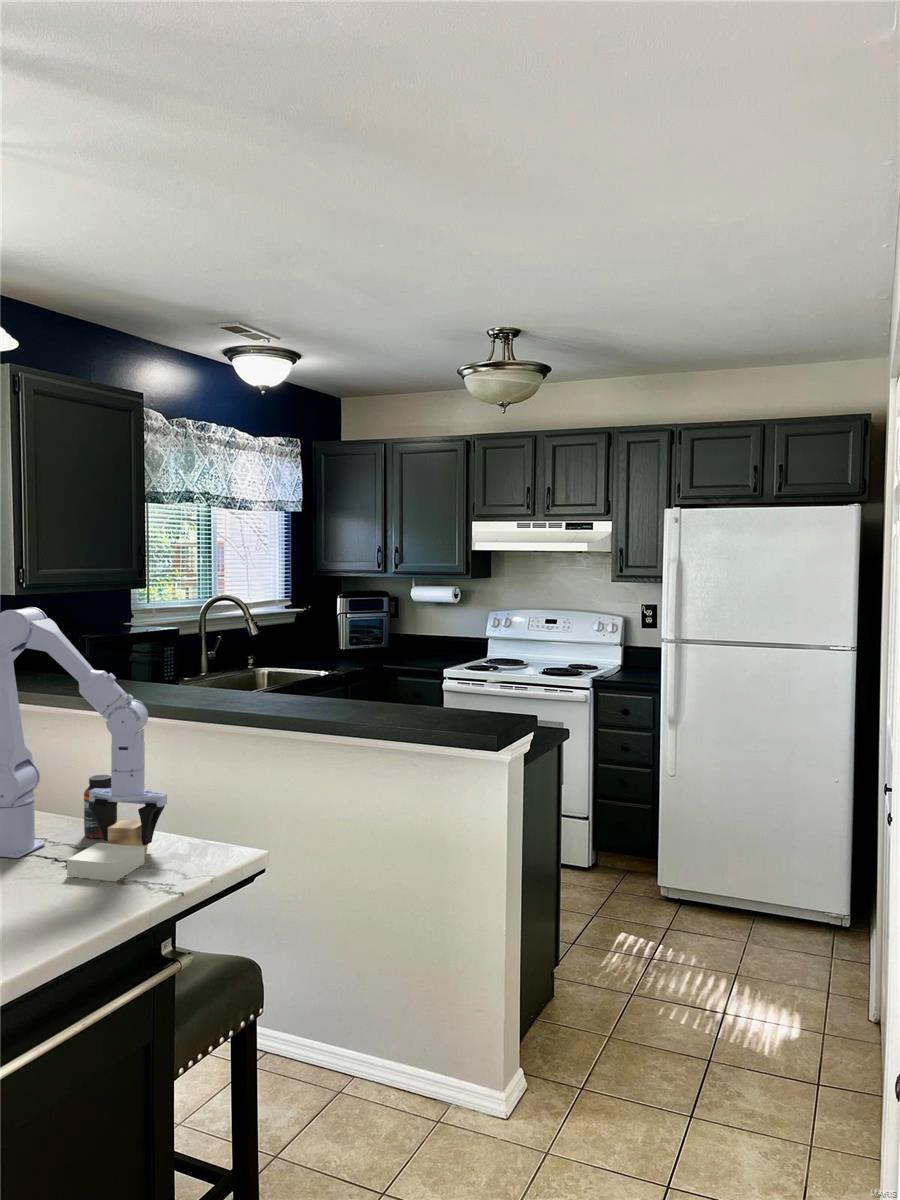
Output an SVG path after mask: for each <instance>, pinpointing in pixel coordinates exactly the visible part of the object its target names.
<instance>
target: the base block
mask: <svg viewBox="0 0 900 1200" xmlns="http://www.w3.org/2000/svg"><path fill="white" fill-rule="evenodd" d="M145 850H146V849H145V847H141V846H130V845H119V844H108V842H105V843H104V842H96V843H95V844H93V845H91V846H90V847H87V848H85V849H83V850H81V851H80V852H78V853H76V854H75V855H72V856H71V857H69V858H67V859H66V877H67V876H69V877H68V878H73V877H79V878H78V879H83V878H89V879H88V880H95V881H106V882H114V883H115V882H117V880H118V881H119V880H121V879H122V878H124V877H125V875H126V876H127V875H129V874H130V873H132V872H134V871H135V870H137V869H138V868H140V867H141V865H142V866H143V865H145V857H146V856H145ZM139 866H140V867H139ZM136 868H137V869H136ZM120 878H121V879H120Z"/></svg>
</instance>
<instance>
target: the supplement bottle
mask: <svg viewBox="0 0 900 1200" xmlns="http://www.w3.org/2000/svg"><path fill="white" fill-rule="evenodd" d="M88 781H89V782H88V785H89V786H88V787H87V788H86V789H85V790H84V792H83V819H84V820H83V824H84V827H83V829H84V836H85V837H87V838H88V837H89V839H93V838H98V839H104V838H103V834H102V830H101V827H100V825H99V822H98V820H97V818H96V816H95V815H94V813H93V812H92V810H91V805H94V803H95V801H89V791H90V790H93V789H95V788H99V789H109V788H111V774H110V775H109V774H97V775H92V776H90V777H89V778H88ZM117 822H118V806H117V807H116V813H115V823H117Z"/></svg>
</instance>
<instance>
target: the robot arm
mask: <svg viewBox="0 0 900 1200" xmlns="http://www.w3.org/2000/svg"><path fill="white" fill-rule="evenodd" d="M25 649H30V650H36V651H40V652H41V651H42V652H45V653H47V654H49V656H50V657H51V658H52V659H54V660H55V661H56V662H57V664H59V666H61V667H62V668H63V669H64V670H66V672H68V673H69V675H71V676H72V677H73V678H74V679H75V680H76V681H77V682H78V691H79V694H80V695H81V696H82V697H83V698H84V699H85V700H86V701H87V702H88V703H89V704H90V705H91V706H92V707H93V708H94V709H95V711H96V712H98V713H99V715H101V717H102V718H104V719H106V721H105V726H106V728H107V730H108V732H109V733H110V734H111V745H110V746H111V747H110V749H111V752H110V753H111V755H110V756H111V757H110V759H111V767H110V769H111V771H110V772H111V773H110V776H111V788H109V789H99V788H95V789H93V790H90V791H89V801H95V803H94V805H91V810H92V812H93V813H94V815H95V816H96V818H97V820H98V822H99V825H100V827H101V830H102V834H103V838H102V839H103V840H104V842H105V843H108V827H109V826H111V825H113V824H115V813H116V807H117V808H118V803H122V804H135V805H144V806H141V807H140V808H138V809H137V812H138V815H139V819H140V820H139V821H141V826H142V845H148V846H149V845H150V844H151V843H152V842H153V837H154V834H155V833H154V831H155V829H156V826H157V823H158V820H159V818H160V817H161V815H162V812H163V810H164V809H165V806H166V805H167V804H168V793H164V792H163V793H162V792H156V791H153V790H149V789H145V777H146V776H145V768H146V767H145V762H146V761H145V757H146V756H145V750H146V749H145V747H146V746H145V745H146V744H145V729H144V727H145V726H146V725H147V723H148V720H149V712H148V709H147V707H146V706H145V705H144V703H143V702H142V701H140V700H137V699H134V696H133V695H132V694H131V693H127V692H125V690H123V688H122V687H121V686H120V685H119V684H118V683H117V682H116V679H117V677H116V676H115V675H114V674H113V673H112V672H110V673H109V674H108V672H107V671H106V670H99V669H98V670H97V669H94V668H93V667H92V665H91V664H90V663H89V662H88V661H87V660H86V659H85V657H84V656H83V655H82V654H81V653H80V652H79V650H78V649H77V648H76V647H75V646H74V645H73V644H72V643H71V641H70V640H69V639H68V638H67V637H66V636H65V634H63V632H62V631H61V630H60V628H59V626H58V625H57V623H56V622H55V621H54V620H52V619H51V618H48V616H47V615H46V613H45V611H43V610H41V609H40V608H37V607H33V606H29V607H24V608H19V609H8V610H7V609H6V610H4V611H2V612H0V857H3V858H13V859H19V858H20V857H23V856H25V855H28V854H29V853H31V852H34V851H35V850H38V849H40V848H42V847H43V846H45V845H46V842H45V841H38V840H36V837H35V836H36V835H35V834H36V833H35V831H36V828H35V827H36V826H35V823H36V821H35V820H36V819H35V815H36V814H35V813H36V812H35V803H36V801H35V799H36V798H35V794H34V790H35V789H36V788H37V787H38V785H39V783H40V780H41V774H40V771H39V768H38V766H37V765H36V764H35V762H34V760H33V754H32V752H31V750H29V749H28V748H27V746H26V744H25V738H24V731H23V724H22V723H23V722H22V717H21V709H20V703H19V695H18V688H17V681H16V679H17V678H16V674H15V673H16V672H15V665H14V662H15V660H16V658H18V656H19V655H20V654H21V653H22V652H24V650H25ZM104 842H103V843H104Z"/></svg>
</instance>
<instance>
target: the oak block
mask: <svg viewBox="0 0 900 1200" xmlns="http://www.w3.org/2000/svg"><path fill="white" fill-rule="evenodd" d="M107 844H119V845H130V846H141V847H145V848H146V849H148V848H149V844H148V845H142V826H141V820H135V819H134V820H133V819H121V820H120V821H117V823H115V824H113V825H111V826H109V827H108V842H107ZM147 847H148V848H147Z"/></svg>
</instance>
